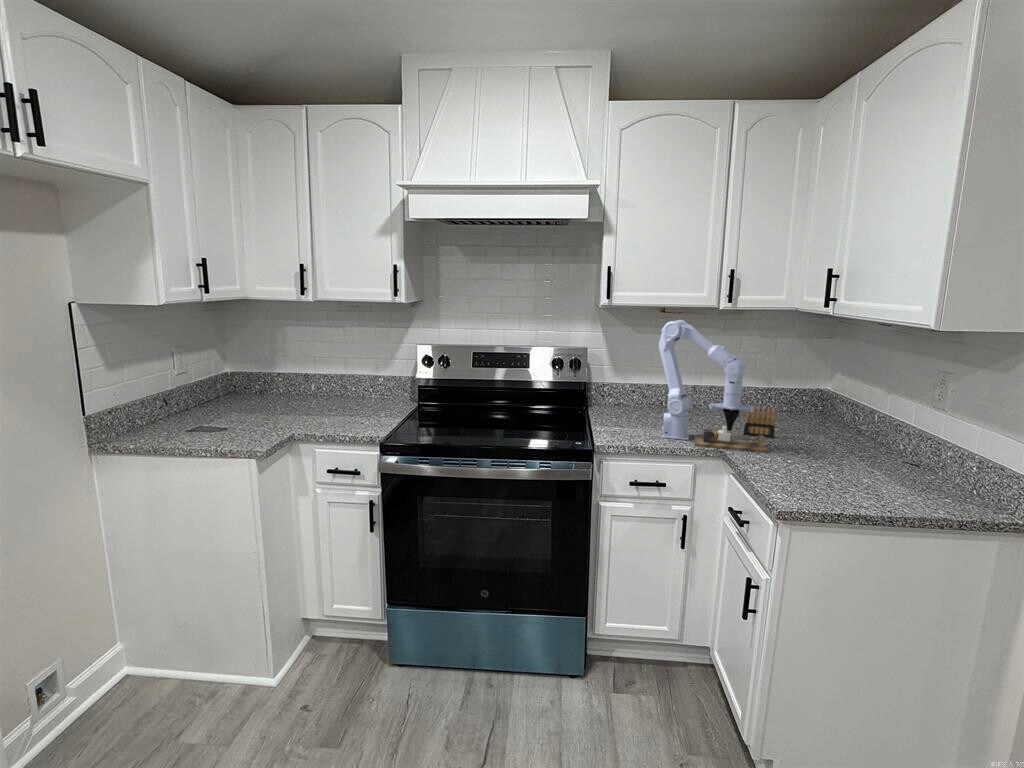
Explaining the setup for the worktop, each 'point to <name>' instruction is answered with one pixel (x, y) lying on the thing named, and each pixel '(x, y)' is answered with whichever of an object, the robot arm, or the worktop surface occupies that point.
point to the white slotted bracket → (724, 434)
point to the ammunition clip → (760, 423)
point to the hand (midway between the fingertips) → (729, 430)
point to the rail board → (730, 442)
